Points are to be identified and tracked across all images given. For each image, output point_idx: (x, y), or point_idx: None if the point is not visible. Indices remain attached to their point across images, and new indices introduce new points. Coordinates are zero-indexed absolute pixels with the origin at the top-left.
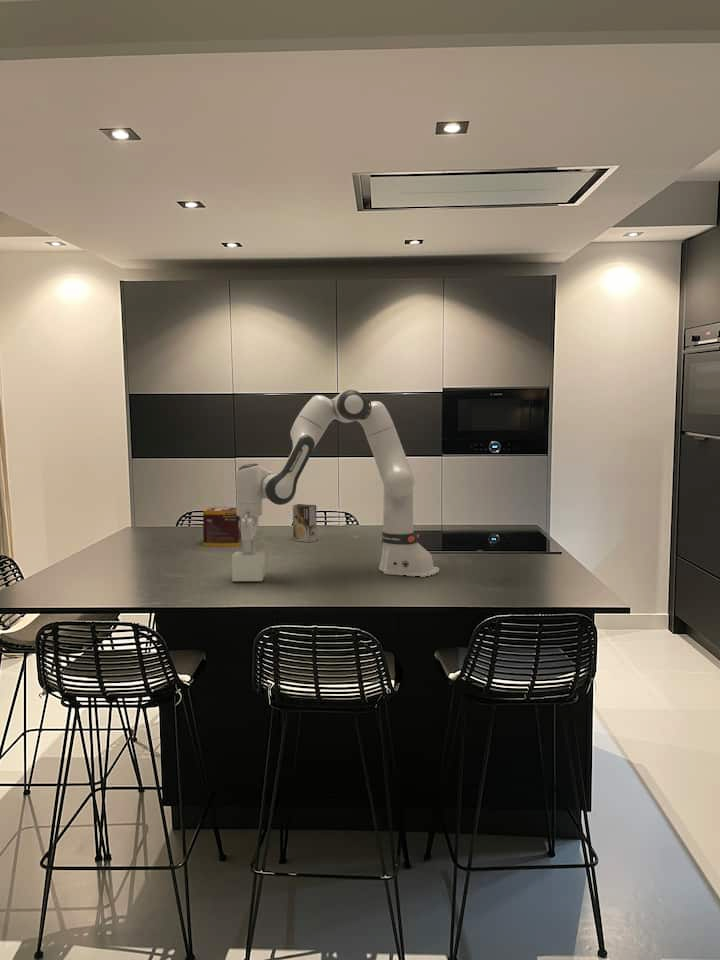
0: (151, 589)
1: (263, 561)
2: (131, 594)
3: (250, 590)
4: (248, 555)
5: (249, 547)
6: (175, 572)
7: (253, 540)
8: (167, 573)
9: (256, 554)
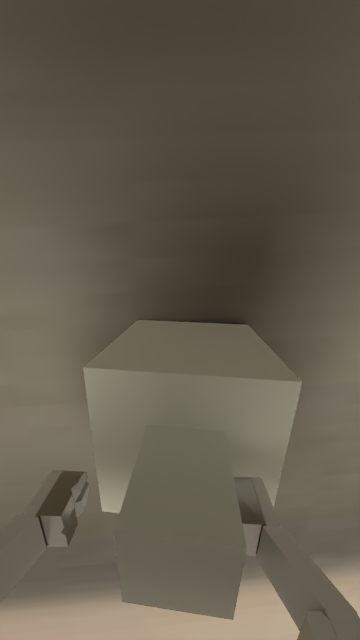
0: None
1: (180, 348)
2: None
3: (345, 353)
4: (270, 460)
5: (274, 523)
6: (104, 539)
7: (20, 533)
8: (116, 551)
9: (229, 416)
